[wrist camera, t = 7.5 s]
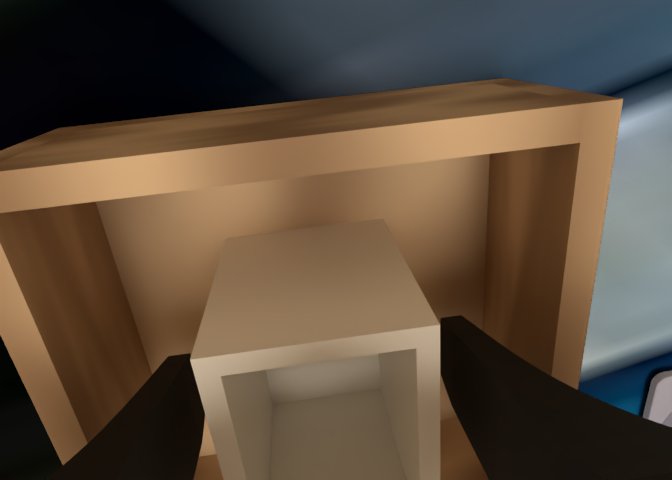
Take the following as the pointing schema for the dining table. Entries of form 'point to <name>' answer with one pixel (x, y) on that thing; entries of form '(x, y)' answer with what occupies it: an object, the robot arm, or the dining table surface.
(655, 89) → the dining table surface
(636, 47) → the dining table surface
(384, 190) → the big crate
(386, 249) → the small crate
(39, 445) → the dining table surface
